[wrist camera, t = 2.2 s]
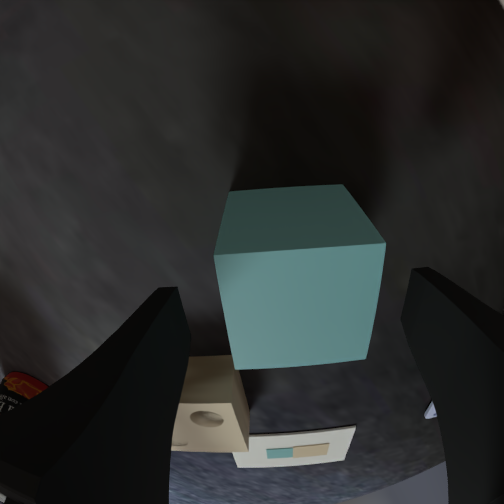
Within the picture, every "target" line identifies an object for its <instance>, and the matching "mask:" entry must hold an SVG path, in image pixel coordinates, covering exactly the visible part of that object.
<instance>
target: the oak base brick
mask: <svg viewBox="0 0 504 504" xmlns="http://www.w3.org/2000/svg"><path fill="white" fill-rule="evenodd" d="M249 418H250V410H249V407H248V403H247V399H246V396H245V392H244V388H243V384H242V381H241V377H240V373H239V370H235V367H234V362H233V357H232V355H219V356H196V357H189V361H188V367H187V372H186V376H185V380H184V385H183V389H182V393H181V397H180V402H179V406H178V411H177V415H176V419H175V424H174V430H173V436H172V446H171V450H175V451H193V452H249Z"/></svg>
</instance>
